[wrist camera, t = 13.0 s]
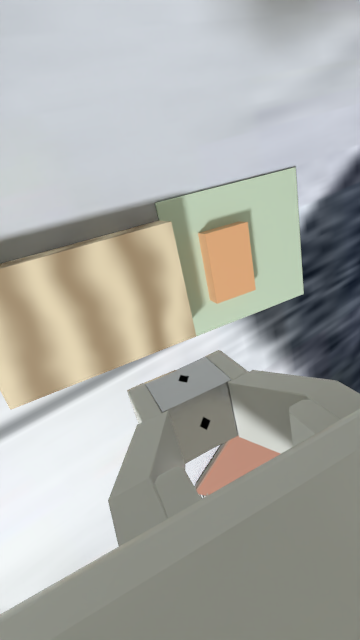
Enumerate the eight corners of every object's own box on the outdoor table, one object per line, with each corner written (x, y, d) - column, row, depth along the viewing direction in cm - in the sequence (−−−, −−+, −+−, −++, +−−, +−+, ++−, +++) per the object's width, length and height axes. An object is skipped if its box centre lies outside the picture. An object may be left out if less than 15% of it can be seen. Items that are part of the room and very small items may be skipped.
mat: (293, 167, 43) (295, 167, 42) (302, 293, 50) (303, 293, 50) (154, 202, 37) (155, 202, 37) (186, 339, 44) (187, 339, 44)
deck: (159, 220, 38) (171, 221, 34) (183, 326, 43) (196, 336, 40) (-46, 276, 32) (-57, 284, 28) (13, 390, 37) (10, 409, 34)
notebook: (186, 490, 54) (191, 499, 52) (240, 406, 53) (247, 412, 51) (285, 514, 67) (291, 522, 65) (329, 447, 66) (337, 453, 64)
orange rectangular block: (205, 234, 38) (197, 233, 40) (217, 303, 42) (209, 300, 43) (247, 221, 40) (238, 221, 42) (255, 289, 43) (247, 286, 45)
